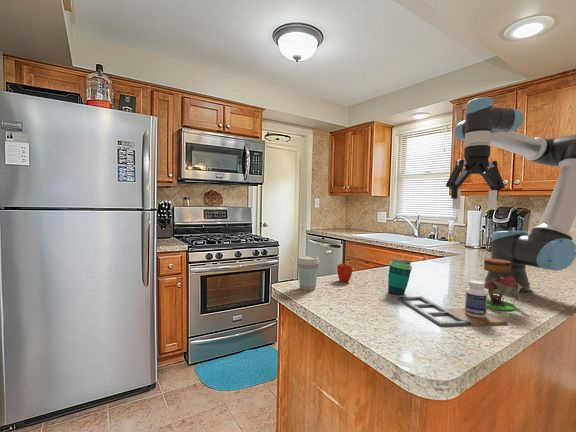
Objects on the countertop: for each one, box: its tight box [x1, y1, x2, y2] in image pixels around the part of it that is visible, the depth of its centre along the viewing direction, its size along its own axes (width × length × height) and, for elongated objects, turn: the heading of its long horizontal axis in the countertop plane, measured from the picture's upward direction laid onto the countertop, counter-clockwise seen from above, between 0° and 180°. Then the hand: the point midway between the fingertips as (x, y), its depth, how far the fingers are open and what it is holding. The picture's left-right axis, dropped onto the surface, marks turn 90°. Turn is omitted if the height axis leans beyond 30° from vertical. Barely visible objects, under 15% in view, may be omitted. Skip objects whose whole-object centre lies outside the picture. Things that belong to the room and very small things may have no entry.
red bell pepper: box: [336, 263, 353, 283], centre depth 127 cm, size 6×6×8 cm
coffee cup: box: [296, 255, 320, 292], centre depth 115 cm, size 9×8×12 cm
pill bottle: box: [464, 280, 488, 318], centre depth 88 cm, size 5×5×10 cm
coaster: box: [445, 307, 508, 327], centre depth 89 cm, size 11×11×1 cm
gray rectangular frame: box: [397, 295, 471, 327], centre depth 93 cm, size 9×23×1 cm, turn 8°
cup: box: [387, 258, 413, 296], centre depth 112 cm, size 8×8×12 cm
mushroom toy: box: [483, 258, 522, 312], centre depth 99 cm, size 12×13×15 cm
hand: (474, 209), depth 103 cm, fingers open, 13 cm apart
